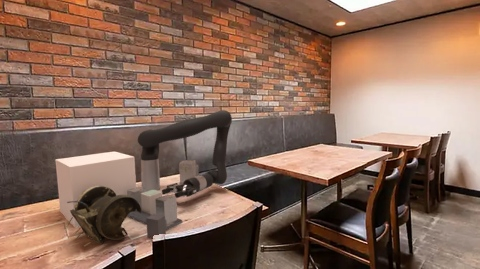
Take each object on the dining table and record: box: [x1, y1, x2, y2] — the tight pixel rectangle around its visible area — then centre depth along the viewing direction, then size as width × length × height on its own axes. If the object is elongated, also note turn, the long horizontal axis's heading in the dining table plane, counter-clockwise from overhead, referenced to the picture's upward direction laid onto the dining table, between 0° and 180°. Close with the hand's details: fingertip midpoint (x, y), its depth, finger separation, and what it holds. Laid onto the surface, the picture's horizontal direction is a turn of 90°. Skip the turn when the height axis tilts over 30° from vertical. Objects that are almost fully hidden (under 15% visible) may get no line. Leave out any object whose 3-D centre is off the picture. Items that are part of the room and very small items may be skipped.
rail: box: [127, 186, 183, 231], centre depth 109 cm, size 26×9×11 cm, turn 55°
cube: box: [55, 151, 137, 228], centre depth 118 cm, size 25×21×24 cm
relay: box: [146, 214, 167, 239], centre depth 96 cm, size 5×4×7 cm
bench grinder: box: [64, 186, 141, 247], centre depth 95 cm, size 20×22×20 cm
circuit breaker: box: [178, 159, 200, 184], centre depth 153 cm, size 8×14×15 cm, turn 174°
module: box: [141, 190, 163, 214], centre depth 109 cm, size 6×6×10 cm
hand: (168, 194), depth 116 cm, fingers open, 8 cm apart
